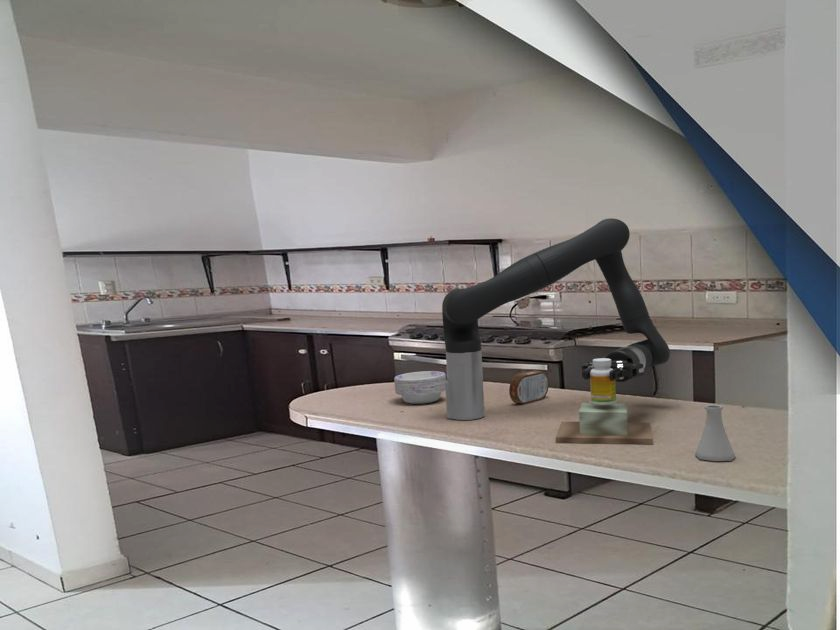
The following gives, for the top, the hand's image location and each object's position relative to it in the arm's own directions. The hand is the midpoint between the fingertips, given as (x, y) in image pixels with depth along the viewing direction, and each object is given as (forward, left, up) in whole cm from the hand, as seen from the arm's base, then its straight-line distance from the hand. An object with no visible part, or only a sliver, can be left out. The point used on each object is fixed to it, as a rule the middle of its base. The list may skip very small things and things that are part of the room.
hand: (598, 375), depth 153 cm
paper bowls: (-52, +39, -14) cm, 67 cm away
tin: (-20, +39, -14) cm, 46 cm away
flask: (+22, -14, -14) cm, 29 cm away
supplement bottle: (+1, +2, -7) cm, 7 cm away
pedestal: (+1, +2, -14) cm, 14 cm away
